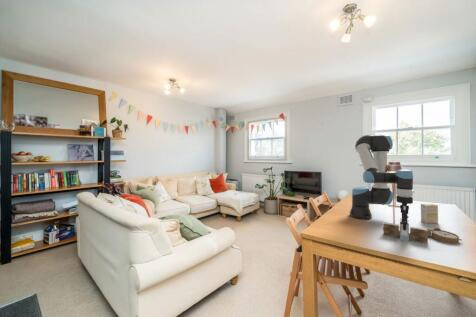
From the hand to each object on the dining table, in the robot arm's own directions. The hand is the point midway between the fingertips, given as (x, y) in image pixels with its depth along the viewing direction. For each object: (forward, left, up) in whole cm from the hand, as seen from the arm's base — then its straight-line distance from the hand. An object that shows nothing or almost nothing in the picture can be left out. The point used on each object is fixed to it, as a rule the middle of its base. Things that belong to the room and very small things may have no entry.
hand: (404, 231), depth 120 cm
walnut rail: (0, 0, -4) cm, 4 cm away
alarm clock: (+17, +12, -4) cm, 21 cm away
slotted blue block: (0, 0, -4) cm, 4 cm away
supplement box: (+14, +45, -4) cm, 47 cm away
